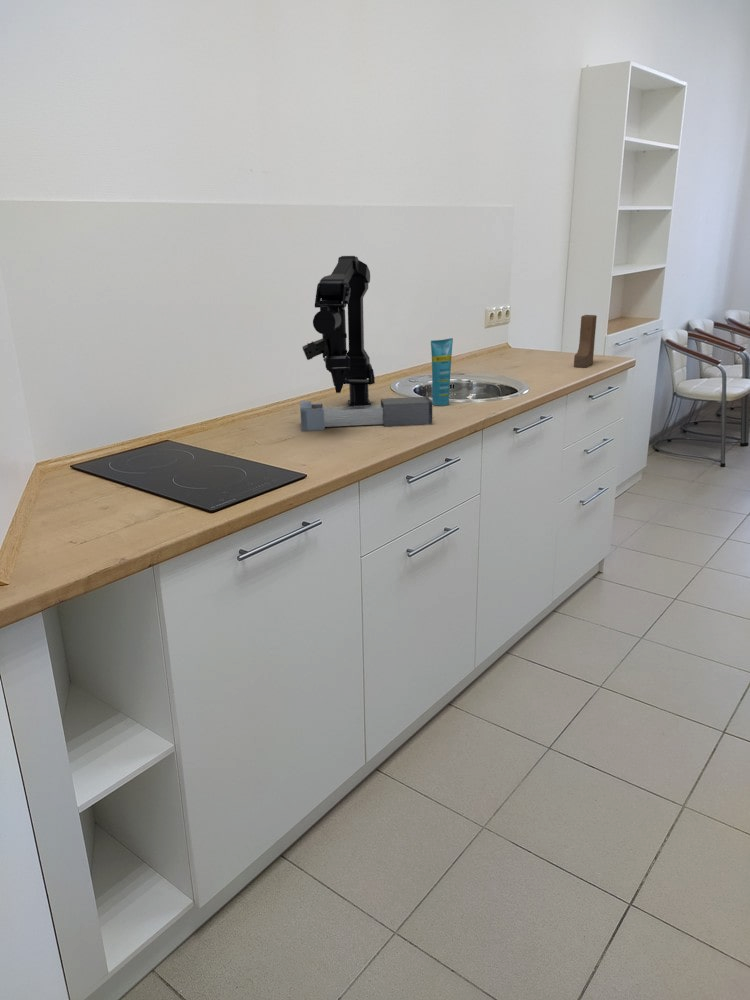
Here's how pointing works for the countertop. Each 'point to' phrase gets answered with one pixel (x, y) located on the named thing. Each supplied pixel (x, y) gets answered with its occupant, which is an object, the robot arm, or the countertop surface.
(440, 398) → the tube
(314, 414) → the blue-grey u-shaped block
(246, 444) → the countertop surface
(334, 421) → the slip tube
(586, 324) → the wooden block
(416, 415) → the sleeve
